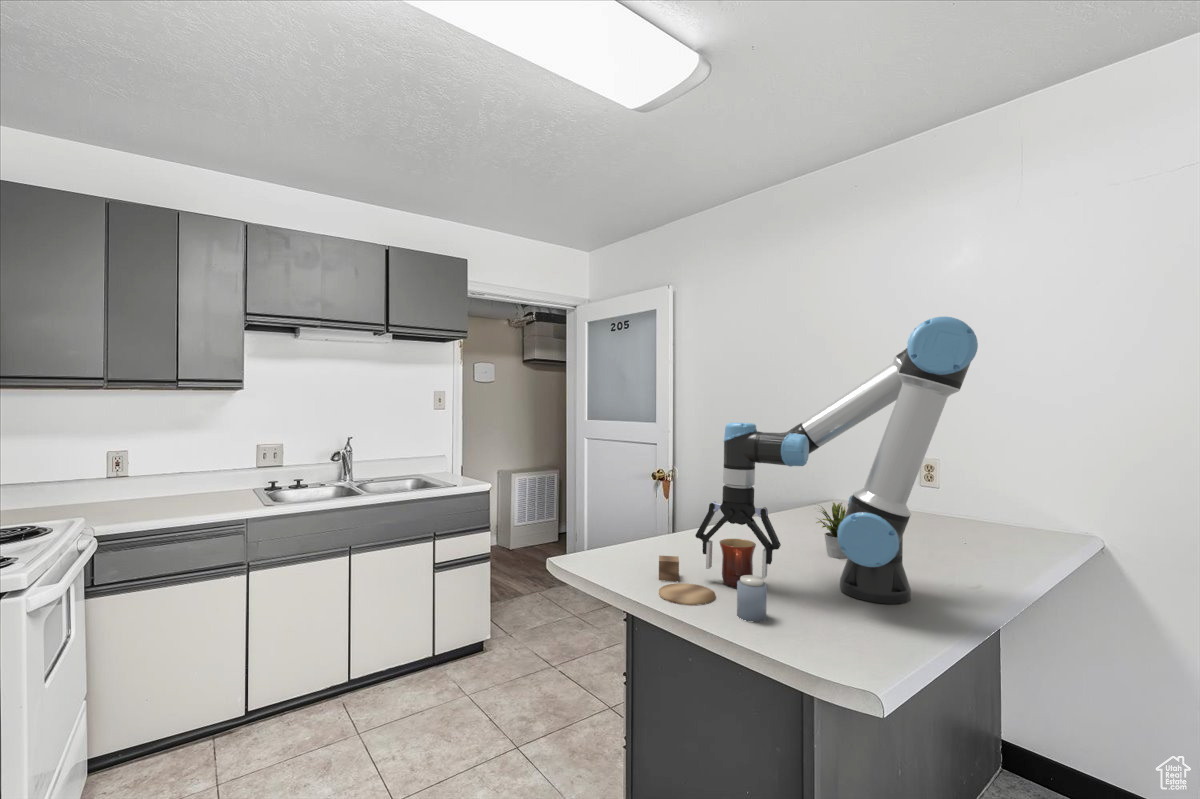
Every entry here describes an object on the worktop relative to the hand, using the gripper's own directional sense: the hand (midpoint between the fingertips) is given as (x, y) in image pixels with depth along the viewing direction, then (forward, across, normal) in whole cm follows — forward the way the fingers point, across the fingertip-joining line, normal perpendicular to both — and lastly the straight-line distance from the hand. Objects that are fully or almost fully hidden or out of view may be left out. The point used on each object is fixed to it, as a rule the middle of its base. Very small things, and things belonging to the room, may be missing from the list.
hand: (736, 572), depth 136 cm
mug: (+4, 0, 0) cm, 4 cm away
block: (+4, +17, +2) cm, 17 cm away
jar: (+3, -7, +18) cm, 20 cm away
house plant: (+3, -19, -43) cm, 47 cm away
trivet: (+4, +9, +12) cm, 15 cm away
